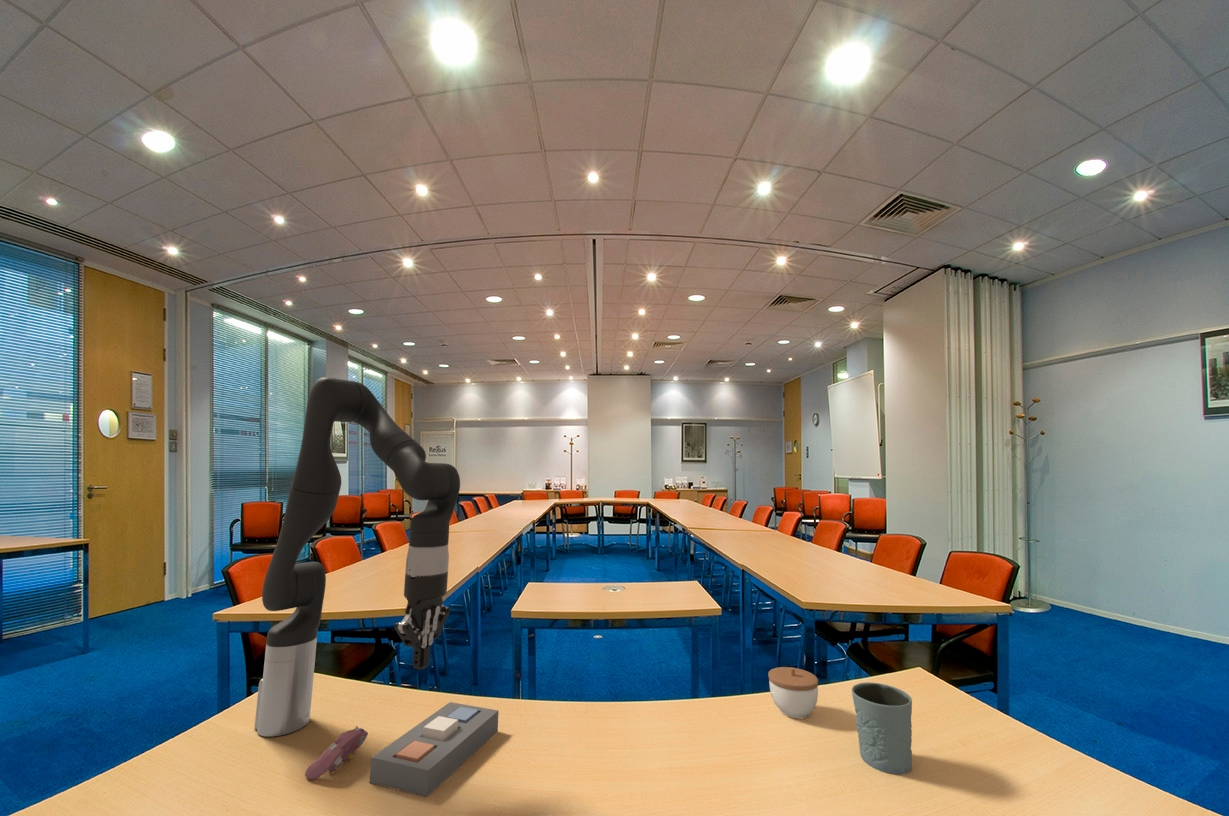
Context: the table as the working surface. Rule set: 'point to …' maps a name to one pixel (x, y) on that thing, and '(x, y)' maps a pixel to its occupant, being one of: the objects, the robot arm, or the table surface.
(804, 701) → the lidded jar
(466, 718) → the slate blue key
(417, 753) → the terracotta key
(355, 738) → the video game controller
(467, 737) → the key console
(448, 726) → the off-white key
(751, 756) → the table surface
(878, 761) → the grey embossed vase
